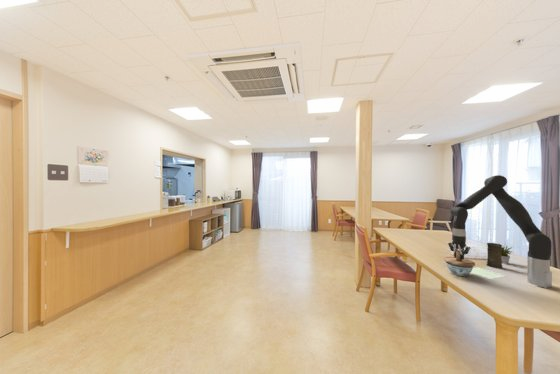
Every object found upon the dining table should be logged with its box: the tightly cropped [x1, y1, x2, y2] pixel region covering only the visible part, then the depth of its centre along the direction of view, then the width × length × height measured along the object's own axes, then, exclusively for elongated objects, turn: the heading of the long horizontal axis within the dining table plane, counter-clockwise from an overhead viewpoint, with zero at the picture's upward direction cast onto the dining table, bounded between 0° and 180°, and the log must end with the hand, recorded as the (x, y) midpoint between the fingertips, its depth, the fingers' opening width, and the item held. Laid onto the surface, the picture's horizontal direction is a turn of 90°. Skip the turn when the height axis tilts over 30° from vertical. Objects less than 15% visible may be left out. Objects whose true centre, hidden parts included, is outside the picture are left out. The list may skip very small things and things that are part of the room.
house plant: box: [501, 243, 513, 265], centre depth 177 cm, size 14×14×16 cm
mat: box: [469, 266, 506, 280], centre depth 155 cm, size 17×17×1 cm
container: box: [486, 242, 503, 270], centre depth 167 cm, size 9×9×18 cm
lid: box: [443, 249, 476, 267], centre depth 153 cm, size 17×17×8 cm
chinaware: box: [445, 261, 474, 277], centre depth 153 cm, size 15×15×8 cm
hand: (458, 258), depth 153 cm, fingers closed on lid, 3 cm apart
